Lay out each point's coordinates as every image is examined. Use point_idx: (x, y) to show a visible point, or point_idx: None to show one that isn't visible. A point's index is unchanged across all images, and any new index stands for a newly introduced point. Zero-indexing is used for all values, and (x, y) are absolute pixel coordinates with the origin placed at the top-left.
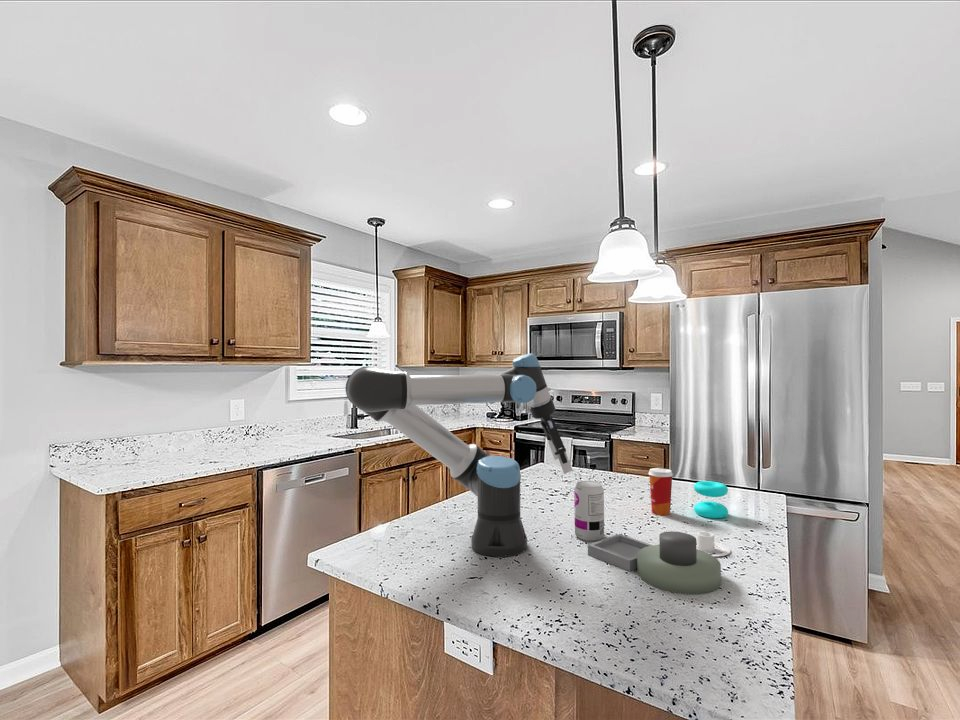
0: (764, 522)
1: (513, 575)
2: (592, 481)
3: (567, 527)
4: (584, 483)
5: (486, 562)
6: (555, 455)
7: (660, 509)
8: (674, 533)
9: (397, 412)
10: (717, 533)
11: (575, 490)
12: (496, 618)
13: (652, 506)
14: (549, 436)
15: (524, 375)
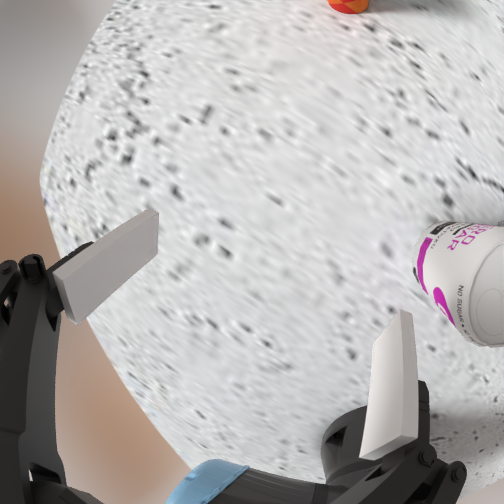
0: None
1: (463, 452)
2: (493, 251)
3: (366, 268)
4: (490, 301)
5: None
6: (142, 257)
7: (365, 2)
8: None
9: None
10: (482, 19)
11: (478, 345)
12: (497, 476)
13: (345, 4)
14: (51, 341)
15: None
